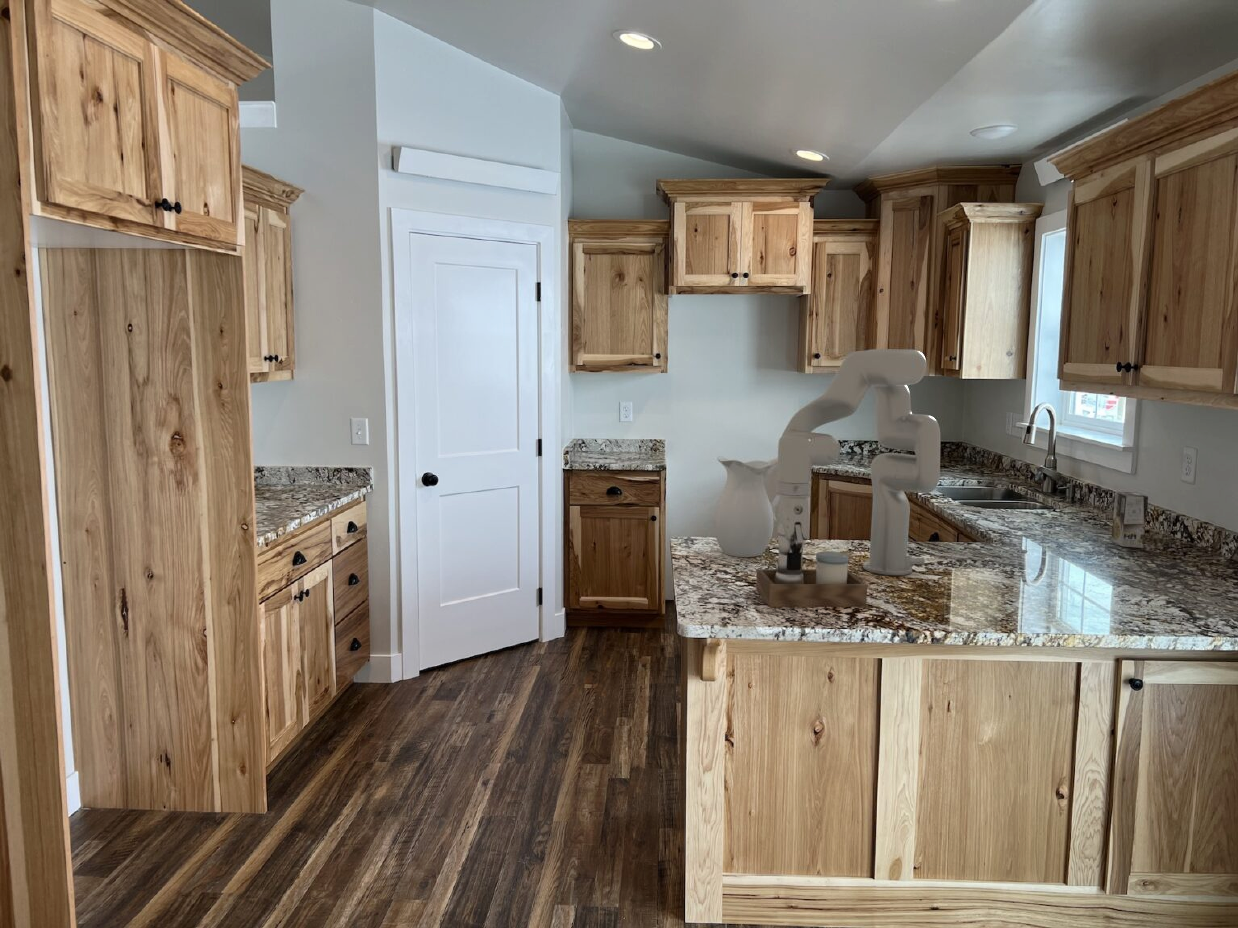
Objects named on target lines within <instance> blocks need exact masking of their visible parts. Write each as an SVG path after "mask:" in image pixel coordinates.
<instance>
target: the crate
mask: <svg viewBox="0 0 1238 928" xmlns="http://www.w3.org/2000/svg"><path fill="white" fill-rule="evenodd" d="M776 572H777V569H775V568H772V569H771V568H769V569H768V568H765V569H764V568H761V569H760V568H759V569H757V568H756V578H755V579H756V582H755V590H756V592H757V593H758V594H759V595H760V597H761V598H762V599H763V601H764V602H765V603H766V604H767V606H768V607H769V608H867V600H868V599H867V598H868V584H867V583H865V582H864V581H863V580H862V579H860V578H859V577H858V576H856V575H855V574H854V573H852V572H851V571H850V570H849V569H848V570H847V584H816V568H810V569H809V568H802V574H803V579H804V584H775V576H776Z"/></svg>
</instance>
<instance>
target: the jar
mask: <svg viewBox="0 0 1238 928" xmlns="http://www.w3.org/2000/svg"><path fill="white" fill-rule="evenodd" d="M815 560H816V568H815V569H816V584H847V570H848V571H849V569H848V566H849V562H850V555H849V554H847V553H845V552H844V553H843V552H839V551H829V550H828V551H826V550H824V551H819V552H817V553H816V554H815Z"/></svg>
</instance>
